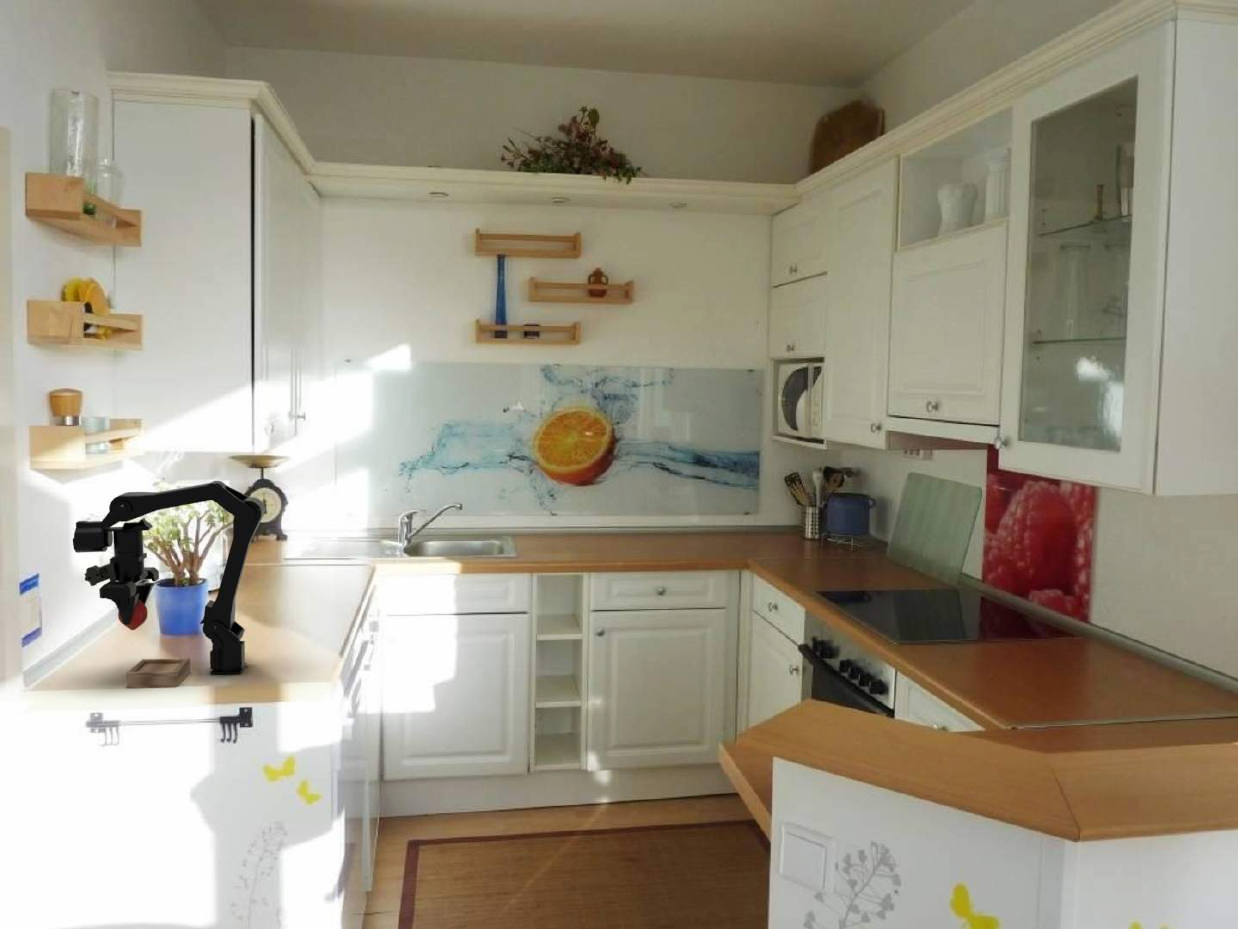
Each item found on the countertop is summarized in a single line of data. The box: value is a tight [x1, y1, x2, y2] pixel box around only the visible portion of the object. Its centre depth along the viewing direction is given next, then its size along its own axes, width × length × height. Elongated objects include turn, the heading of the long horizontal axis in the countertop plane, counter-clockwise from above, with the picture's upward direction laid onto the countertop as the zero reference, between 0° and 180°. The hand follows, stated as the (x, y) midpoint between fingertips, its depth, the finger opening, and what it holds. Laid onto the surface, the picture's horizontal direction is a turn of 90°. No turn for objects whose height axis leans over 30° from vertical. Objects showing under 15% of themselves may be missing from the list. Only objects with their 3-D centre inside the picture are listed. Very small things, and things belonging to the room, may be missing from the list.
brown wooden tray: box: [126, 658, 191, 689], centre depth 213 cm, size 10×10×3 cm
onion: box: [117, 599, 149, 631], centre depth 215 cm, size 6×6×8 cm
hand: (132, 620), depth 215 cm, fingers closed on onion, 6 cm apart
